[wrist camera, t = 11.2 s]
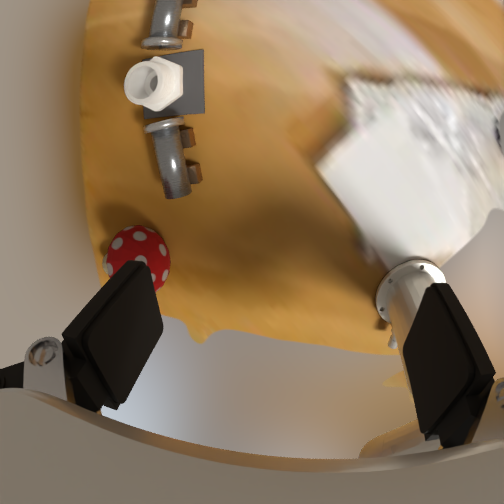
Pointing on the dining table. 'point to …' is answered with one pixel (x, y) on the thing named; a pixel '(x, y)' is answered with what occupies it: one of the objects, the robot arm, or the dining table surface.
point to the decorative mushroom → (139, 253)
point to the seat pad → (185, 86)
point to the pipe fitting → (154, 83)
